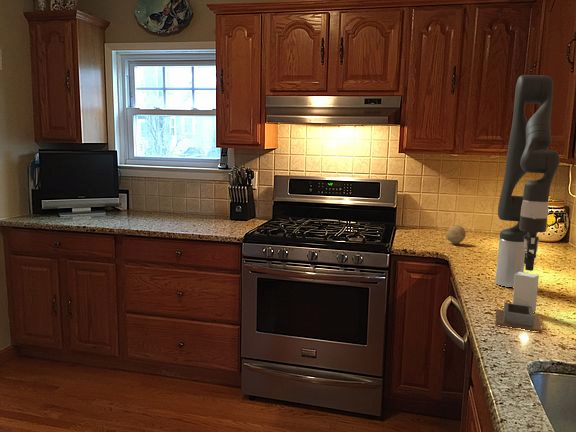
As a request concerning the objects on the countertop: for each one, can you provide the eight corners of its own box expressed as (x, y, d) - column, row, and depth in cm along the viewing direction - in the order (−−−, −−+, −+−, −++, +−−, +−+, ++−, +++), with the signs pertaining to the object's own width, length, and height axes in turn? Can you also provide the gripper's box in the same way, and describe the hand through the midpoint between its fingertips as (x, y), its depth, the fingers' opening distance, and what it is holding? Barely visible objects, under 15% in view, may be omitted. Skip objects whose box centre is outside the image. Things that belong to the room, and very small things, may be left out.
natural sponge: (466, 247, 256) (468, 227, 254) (447, 245, 257) (449, 226, 256) (463, 243, 265) (464, 224, 263) (445, 242, 266) (446, 223, 265)
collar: (495, 312, 160) (496, 299, 160) (538, 318, 156) (539, 305, 155) (495, 325, 148) (496, 312, 148) (541, 333, 144) (542, 319, 143)
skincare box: (536, 312, 162) (540, 274, 160) (531, 315, 158) (535, 277, 156) (515, 307, 166) (519, 270, 164) (510, 310, 162) (514, 273, 160)
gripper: (519, 211, 165) (514, 261, 167) (521, 217, 152) (515, 270, 154) (545, 213, 162) (540, 264, 165) (549, 219, 149) (543, 274, 152)
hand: (528, 267), depth 160 cm, fingers open, 8 cm apart
